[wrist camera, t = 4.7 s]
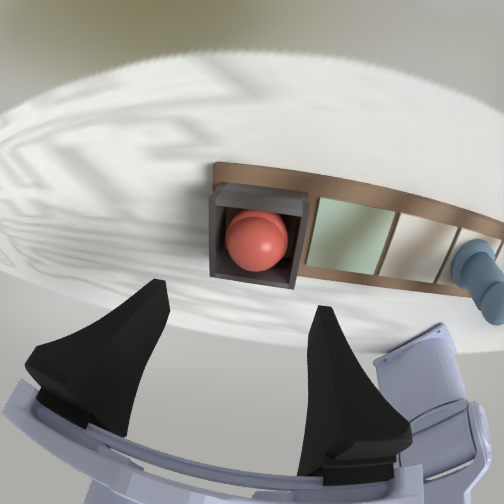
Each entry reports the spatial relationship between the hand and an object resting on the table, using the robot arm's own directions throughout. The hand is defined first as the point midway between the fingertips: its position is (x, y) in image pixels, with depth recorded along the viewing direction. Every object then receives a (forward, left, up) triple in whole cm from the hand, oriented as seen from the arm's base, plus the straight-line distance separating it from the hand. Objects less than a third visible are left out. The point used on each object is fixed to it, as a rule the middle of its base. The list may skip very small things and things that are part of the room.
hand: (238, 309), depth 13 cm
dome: (0, 0, -8) cm, 8 cm away
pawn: (+12, -14, -8) cm, 20 cm away
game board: (+6, -7, -9) cm, 13 cm away
